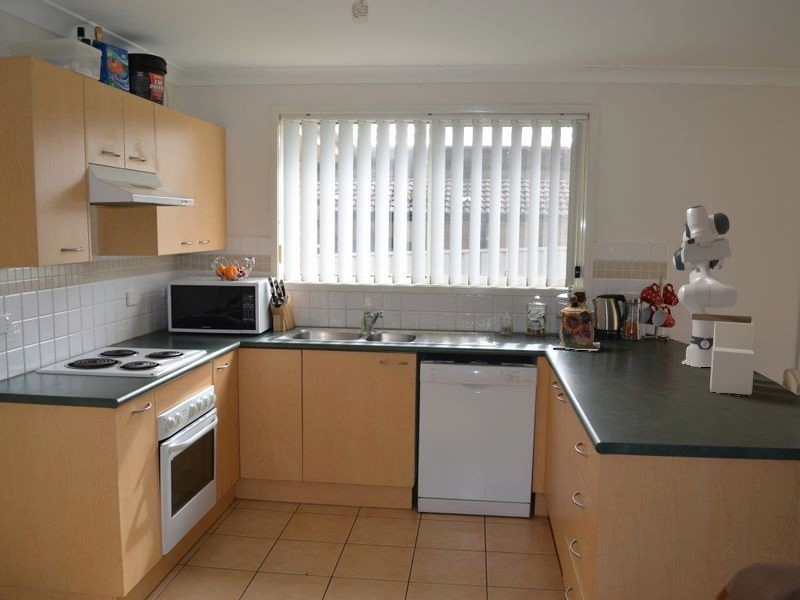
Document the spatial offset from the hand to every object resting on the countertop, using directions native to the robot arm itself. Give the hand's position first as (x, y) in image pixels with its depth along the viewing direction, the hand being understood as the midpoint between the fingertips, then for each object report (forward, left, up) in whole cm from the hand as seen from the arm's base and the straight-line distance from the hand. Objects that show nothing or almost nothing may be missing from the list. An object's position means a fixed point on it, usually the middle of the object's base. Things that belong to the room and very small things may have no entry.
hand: (709, 270), depth 284 cm
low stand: (+33, +9, -46) cm, 57 cm away
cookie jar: (-46, -61, -46) cm, 90 cm away
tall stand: (+17, +10, -46) cm, 50 cm away
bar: (+17, +5, -20) cm, 27 cm away
